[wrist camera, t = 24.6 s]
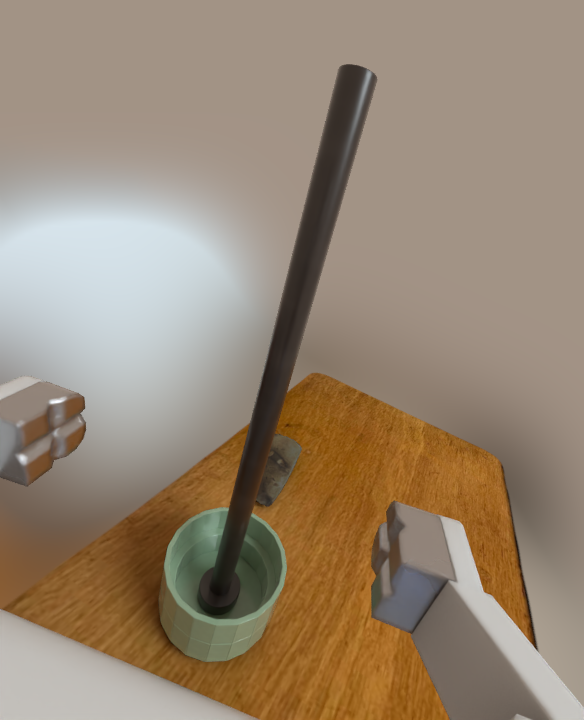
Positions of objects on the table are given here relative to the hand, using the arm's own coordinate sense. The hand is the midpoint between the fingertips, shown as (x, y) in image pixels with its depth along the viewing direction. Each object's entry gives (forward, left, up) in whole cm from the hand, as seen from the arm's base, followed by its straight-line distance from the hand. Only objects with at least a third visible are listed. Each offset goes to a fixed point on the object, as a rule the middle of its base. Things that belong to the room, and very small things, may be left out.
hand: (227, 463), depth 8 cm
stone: (+18, +24, -27) cm, 40 cm away
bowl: (+7, +10, -26) cm, 29 cm away
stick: (+7, +10, -26) cm, 29 cm away
